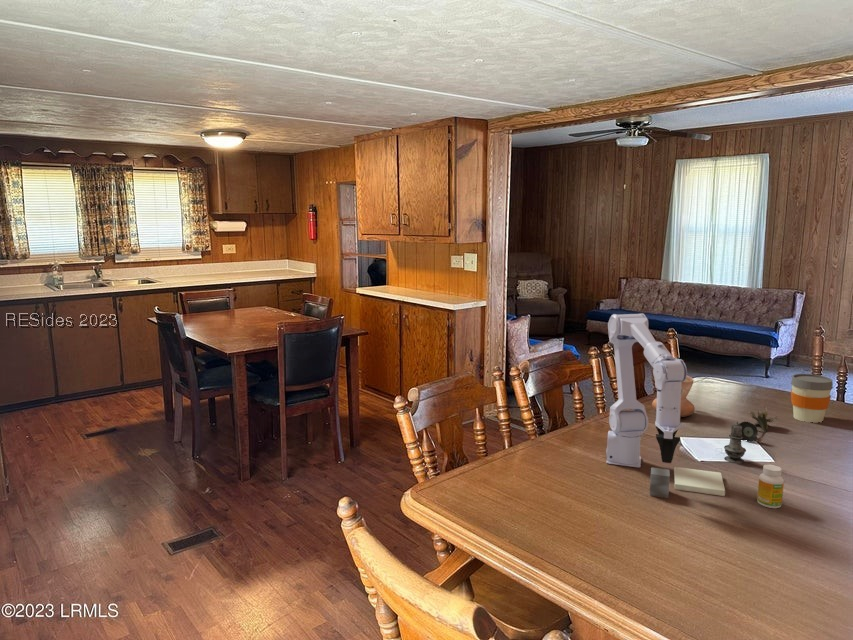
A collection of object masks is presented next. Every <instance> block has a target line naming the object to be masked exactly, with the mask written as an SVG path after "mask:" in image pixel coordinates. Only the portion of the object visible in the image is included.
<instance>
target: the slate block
mask: <svg viewBox="0 0 853 640" xmlns="http://www.w3.org/2000/svg"><path fill="white" fill-rule="evenodd" d="M670 478H671V475H670V469H668V468H667V469H666V468H658V467H651V468H650V483H649V486H650V487H649V496H650V495H652V496H651V497H656V496H657V497H656V498H658V497H659V498H663V497H665V498H664V499H669V494H670V492H669V491H670Z"/></svg>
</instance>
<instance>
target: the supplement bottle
mask: <svg viewBox="0 0 853 640" xmlns="http://www.w3.org/2000/svg"><path fill="white" fill-rule="evenodd" d="M782 471H783V470H782V468H781V467H780V466H777V465H775V464H764V465H763V467H762V472H761V473H760V474H759V476H758V477H759V478H758V486H757V488H758V489H757V500H756V501H757V503H758V504H759V505H761V506H763V507H766V508H769V509H778V508H781V507H782V504H783V494H784V486H785V484H784V483H785V480H784V477H783V476H781V475H782V473H783V472H782Z"/></svg>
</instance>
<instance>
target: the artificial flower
mask: <svg viewBox="0 0 853 640" xmlns="http://www.w3.org/2000/svg"><path fill="white" fill-rule="evenodd" d="M756 413H757V414H755V411H753V410H749V411H748V414H749V415H750V416H751V418H752V419H754V420H755V421H756V422H754V423H751V422H750V421H742V422H740V423H738V424H739V425H741V426H742V437H743V438H742V440H743V441H744V440H747V441H751V442H756V441H757V440H758V437H757V436H758V433H762V434H765V433H767V430H768V428H769V427H768V425H769V424H768V423H773V422H776V421H777V420H779V417H777V416H773V417H770V418H767V417H768V415H769V411H768V407H767V406H764V409H763V412H762V411H760V410H757V412H756ZM757 425H759V426H760V428H761V429H762V430H759V429H758V428H757ZM747 441H746V442H747ZM751 442H750V443H751Z"/></svg>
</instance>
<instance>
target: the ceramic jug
mask: <svg viewBox="0 0 853 640" xmlns="http://www.w3.org/2000/svg"><path fill="white" fill-rule="evenodd" d="M694 381H695V380H694V378H693V377H692V376H689V375H687V377H686V379H685V381H684V382H682V384H681V408H680V418H686V417H688V416H691V415H692V414H694V413H695V409H696V408H695V405H694V404H693V403H692V402H691V401H690V400H689V399H688V398H687V396H688V395H689V393H690V391H691V389H692V387H693V384H694ZM651 407H652V409H653V410H654V411H655V412H656V408H657V397H655V398H654V400H653V401H652V403H651Z"/></svg>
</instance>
